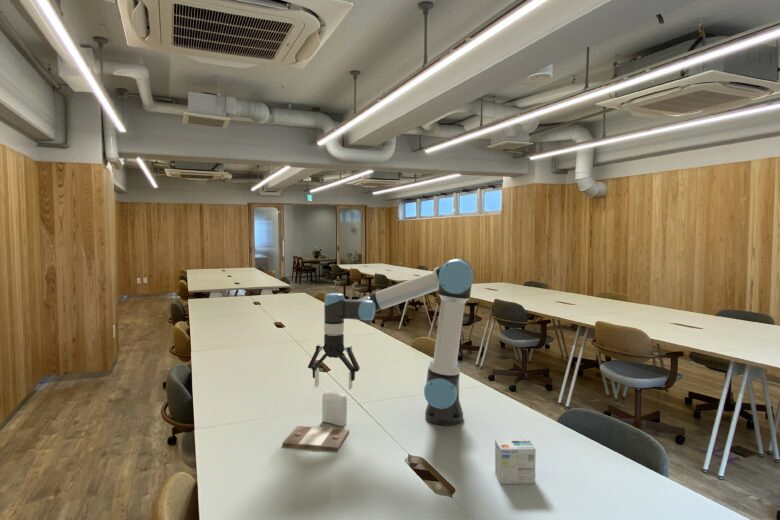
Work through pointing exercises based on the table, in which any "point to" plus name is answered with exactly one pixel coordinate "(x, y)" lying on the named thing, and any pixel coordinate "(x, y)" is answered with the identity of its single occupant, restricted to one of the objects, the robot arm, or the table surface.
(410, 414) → the table surface
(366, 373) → the table surface
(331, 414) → the photo printer
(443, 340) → the robot arm
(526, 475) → the light bulb box
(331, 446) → the board
